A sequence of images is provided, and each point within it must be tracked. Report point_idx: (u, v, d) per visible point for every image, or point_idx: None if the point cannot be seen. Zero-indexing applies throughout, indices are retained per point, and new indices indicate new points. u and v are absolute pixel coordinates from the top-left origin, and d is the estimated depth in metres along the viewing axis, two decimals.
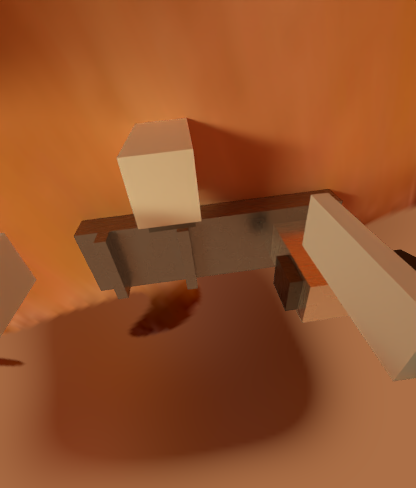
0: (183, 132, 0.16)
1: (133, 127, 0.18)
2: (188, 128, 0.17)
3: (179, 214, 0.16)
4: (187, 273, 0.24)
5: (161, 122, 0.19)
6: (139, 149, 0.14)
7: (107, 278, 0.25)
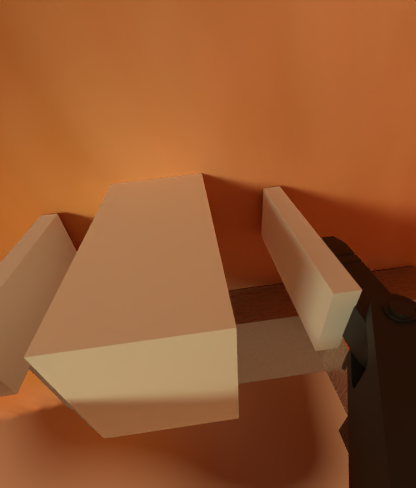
0: (201, 226, 0.08)
1: (105, 196, 0.10)
2: (209, 211, 0.08)
3: (192, 415, 0.07)
4: None
5: (157, 183, 0.11)
6: (97, 304, 0.06)
7: None
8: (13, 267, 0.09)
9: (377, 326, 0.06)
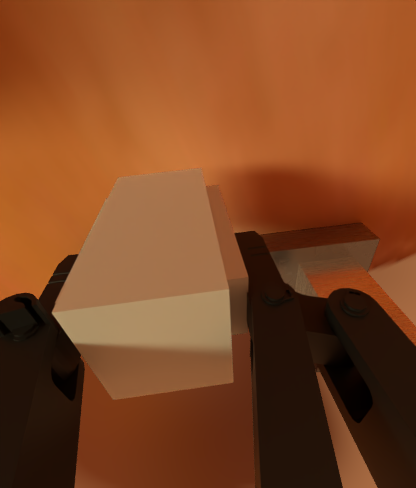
0: (200, 212, 0.09)
1: (113, 188, 0.11)
2: (208, 199, 0.09)
3: (192, 378, 0.08)
4: None
5: (160, 177, 0.12)
6: (110, 273, 0.07)
7: None
8: None
9: (256, 313, 0.06)
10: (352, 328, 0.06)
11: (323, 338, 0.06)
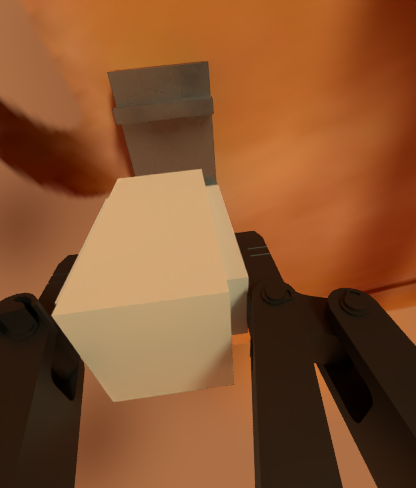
0: (200, 214, 0.09)
1: (113, 189, 0.11)
2: (208, 201, 0.09)
3: (192, 380, 0.08)
4: None
5: (160, 178, 0.12)
6: (110, 275, 0.07)
7: (134, 89, 0.18)
8: None
9: (257, 313, 0.06)
10: (352, 328, 0.06)
11: (323, 338, 0.06)
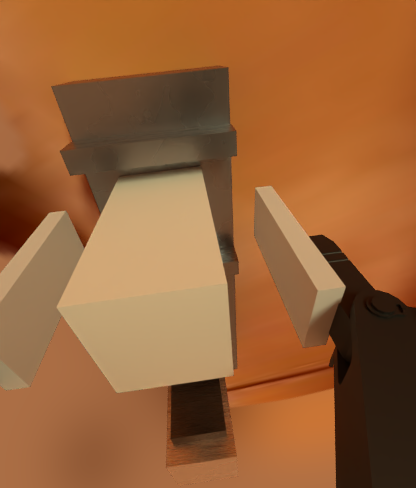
0: (199, 210, 0.09)
1: (114, 187, 0.11)
2: (207, 197, 0.10)
3: (193, 371, 0.08)
4: None
5: (160, 176, 0.12)
6: (112, 269, 0.07)
7: (101, 114, 0.11)
8: (25, 263, 0.09)
9: (360, 323, 0.06)
10: None
11: None
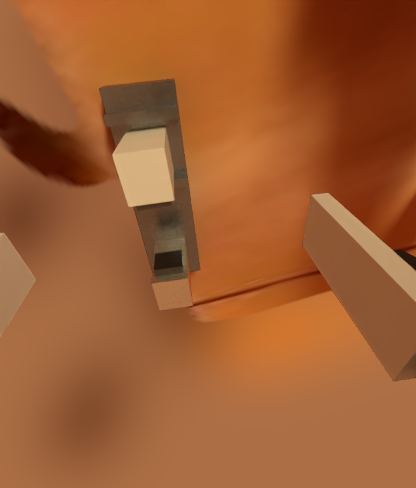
0: (160, 136, 0.22)
1: (125, 134, 0.25)
2: (165, 134, 0.23)
3: (157, 195, 0.22)
4: None
5: (146, 129, 0.25)
6: (128, 148, 0.20)
7: (119, 100, 0.24)
8: None
9: None
10: None
11: None
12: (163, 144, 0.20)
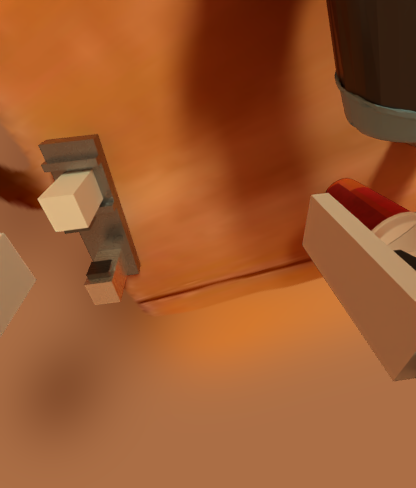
0: (79, 181, 0.31)
1: None
2: (84, 178, 0.32)
3: (75, 224, 0.31)
4: None
5: (76, 172, 0.34)
6: (50, 193, 0.29)
7: (54, 152, 0.33)
8: None
9: None
10: None
11: None
12: (75, 190, 0.29)
